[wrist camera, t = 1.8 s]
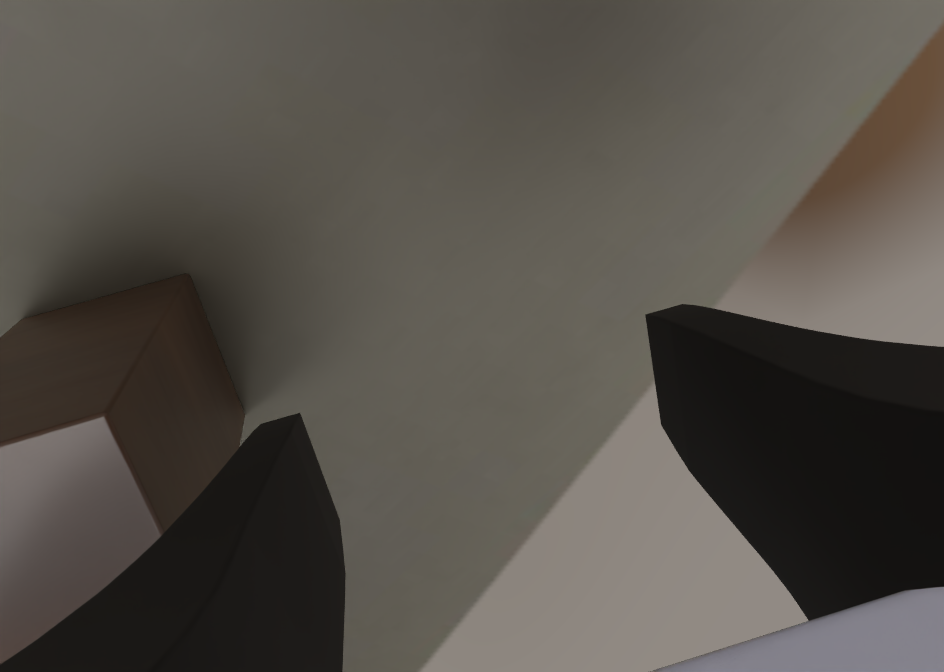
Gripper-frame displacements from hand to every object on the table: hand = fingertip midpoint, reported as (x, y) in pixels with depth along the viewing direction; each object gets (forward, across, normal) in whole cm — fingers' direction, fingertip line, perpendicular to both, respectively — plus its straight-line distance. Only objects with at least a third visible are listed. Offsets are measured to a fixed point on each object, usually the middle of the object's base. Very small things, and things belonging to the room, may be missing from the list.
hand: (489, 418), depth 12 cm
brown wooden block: (+10, +8, +1) cm, 13 cm away
